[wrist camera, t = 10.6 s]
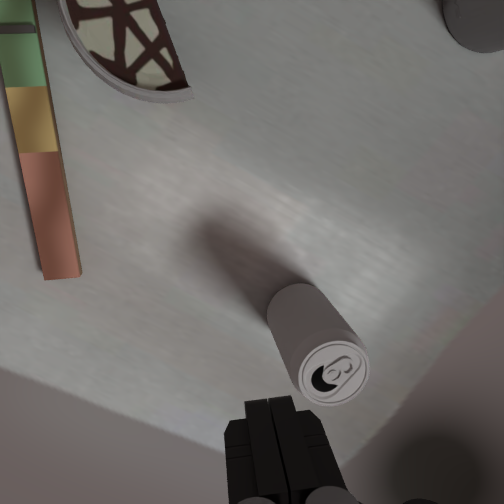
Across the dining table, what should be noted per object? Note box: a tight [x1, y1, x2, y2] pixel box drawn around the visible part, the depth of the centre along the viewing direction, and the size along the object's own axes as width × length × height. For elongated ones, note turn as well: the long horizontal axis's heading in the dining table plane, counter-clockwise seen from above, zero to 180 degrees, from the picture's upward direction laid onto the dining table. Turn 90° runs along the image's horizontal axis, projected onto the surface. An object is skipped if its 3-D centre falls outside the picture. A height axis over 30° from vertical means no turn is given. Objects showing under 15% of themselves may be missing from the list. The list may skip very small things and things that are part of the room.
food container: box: [57, 0, 194, 103], centre depth 30 cm, size 12×6×10 cm, turn 19°
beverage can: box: [267, 283, 370, 406], centre depth 38 cm, size 6×6×12 cm
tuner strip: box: [0, 0, 82, 280], centre depth 35 cm, size 3×24×2 cm, turn 3°
